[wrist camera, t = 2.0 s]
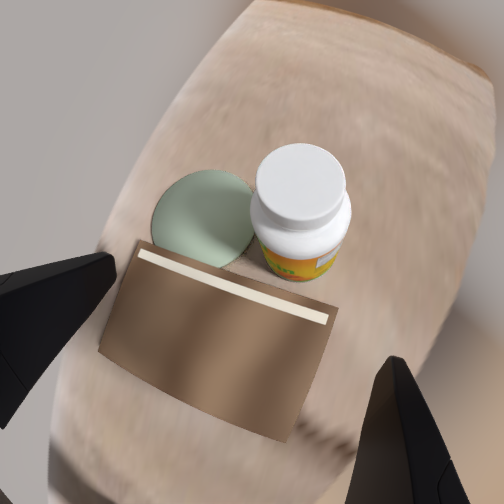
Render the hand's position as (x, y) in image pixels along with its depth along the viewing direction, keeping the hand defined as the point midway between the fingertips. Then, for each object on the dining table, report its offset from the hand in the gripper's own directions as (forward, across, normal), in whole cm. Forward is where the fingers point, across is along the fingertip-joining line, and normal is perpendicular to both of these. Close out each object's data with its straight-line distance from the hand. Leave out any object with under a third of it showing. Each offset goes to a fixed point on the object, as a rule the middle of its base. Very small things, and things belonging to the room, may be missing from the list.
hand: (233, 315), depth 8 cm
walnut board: (+7, +4, +10) cm, 13 cm away
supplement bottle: (+13, 0, +4) cm, 14 cm away
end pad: (+13, +8, +4) cm, 16 cm away
